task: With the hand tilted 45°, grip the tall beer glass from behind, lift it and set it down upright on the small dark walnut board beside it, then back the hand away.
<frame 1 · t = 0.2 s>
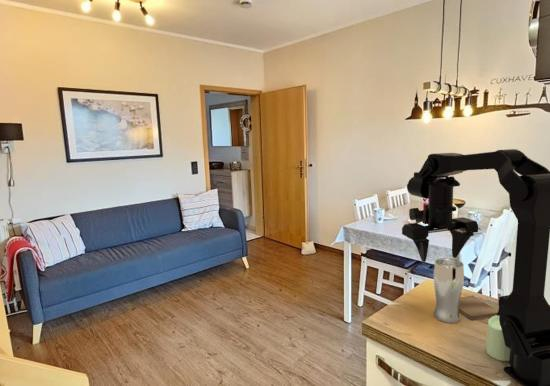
hand: (439, 259, 91), 15 cm above the worktop, tool pointing down, fingers open, 9 cm apart
walnut board: (472, 309, 94), on the worktop
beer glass: (446, 317, 90), on the worktop
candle: (499, 355, 75), on the worktop
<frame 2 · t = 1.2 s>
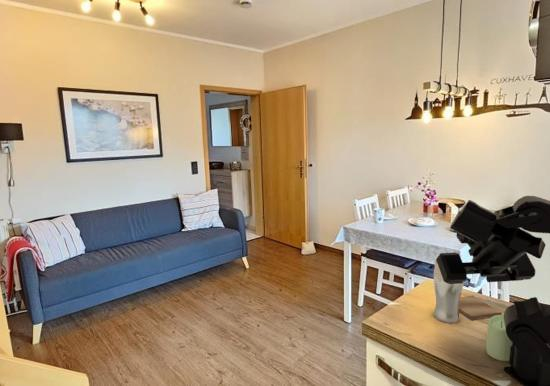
hand: (467, 281, 80), 13 cm above the worktop, tool tilted 45°, fingers open, 9 cm apart
nothing on the worktop moved.
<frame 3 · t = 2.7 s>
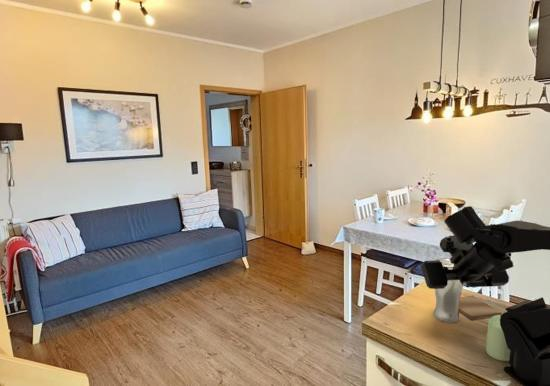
hand: (449, 285, 88), 9 cm above the worktop, tool tilted 45°, fingers open, 9 cm apart
nothing on the worktop moved.
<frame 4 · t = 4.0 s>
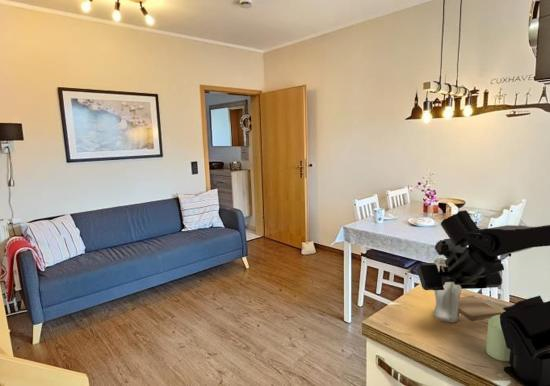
hand: (445, 287, 91), 8 cm above the worktop, tool tilted 45°, fingers closed on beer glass, 6 cm apart
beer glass: (446, 317, 90), on the worktop, touching gripper
everything else where it was.
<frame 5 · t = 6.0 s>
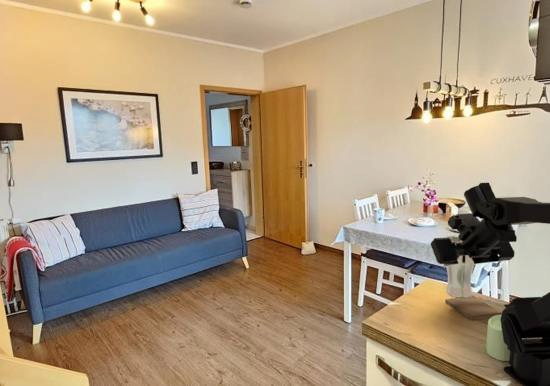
hand: (456, 263, 91), 13 cm above the worktop, tool tilted 45°, fingers closed on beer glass, 6 cm apart
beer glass: (459, 294, 91), point 5 cm above the worktop, touching gripper
everything else where it was.
when the fingers open (10 cm above the worktop, at t = 8.1 s): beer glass stays where it is, resting on walnut board.
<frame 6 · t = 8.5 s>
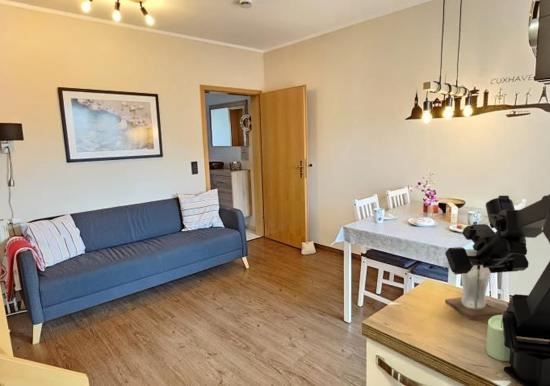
hand: (471, 272, 94), 10 cm above the worktop, tool tilted 45°, fingers open, 9 cm apart
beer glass: (473, 306, 94), point 1 cm above the worktop, touching walnut board
everything else where it was.
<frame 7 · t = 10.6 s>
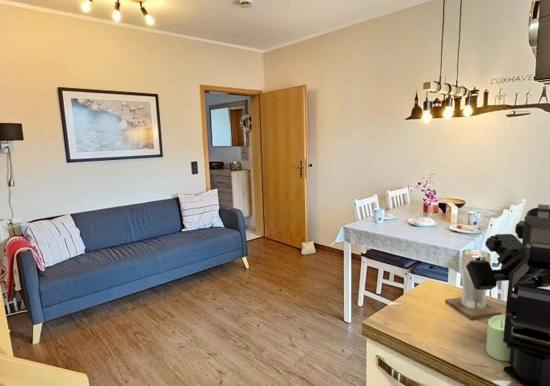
hand: (493, 286, 85), 10 cm above the worktop, tool tilted 45°, fingers open, 9 cm apart
nothing on the worktop moved.
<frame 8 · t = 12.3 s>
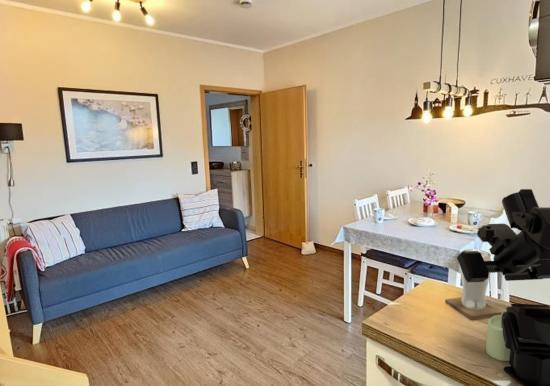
hand: (486, 279, 81), 14 cm above the worktop, tool tilted 45°, fingers open, 9 cm apart
nothing on the worktop moved.
at the end: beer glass inside the target area on the walnut board (0.1 cm from its centre), point 0.8 cm above the walnut board's base; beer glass tilted 0°; the gripper is holding nothing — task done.
